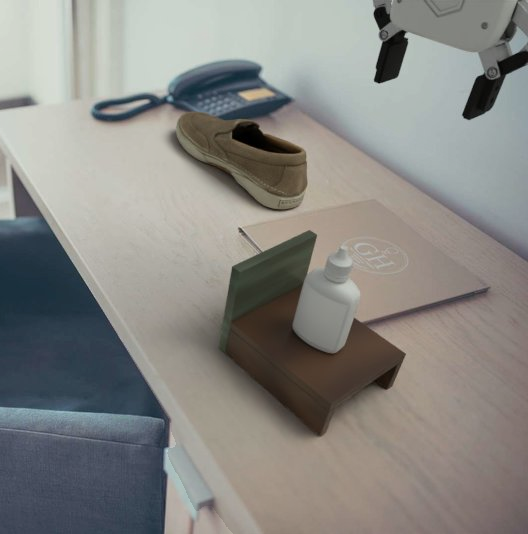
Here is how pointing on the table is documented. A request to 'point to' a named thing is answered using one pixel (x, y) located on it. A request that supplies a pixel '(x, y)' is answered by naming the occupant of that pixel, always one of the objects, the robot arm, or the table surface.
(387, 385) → the shelf
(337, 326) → the eye dropper bottle
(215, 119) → the slip on shoe
